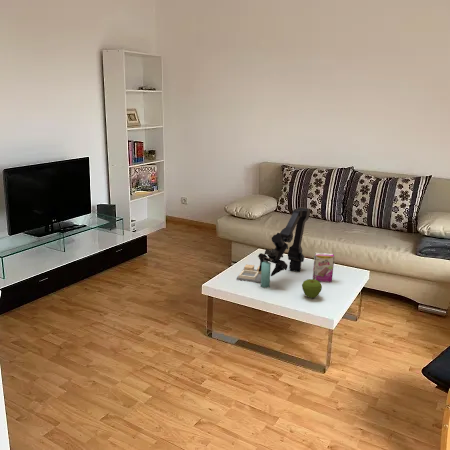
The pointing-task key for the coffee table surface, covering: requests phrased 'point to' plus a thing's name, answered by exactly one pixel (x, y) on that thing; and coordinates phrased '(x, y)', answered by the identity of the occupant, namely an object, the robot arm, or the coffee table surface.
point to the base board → (250, 274)
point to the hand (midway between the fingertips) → (265, 273)
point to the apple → (311, 288)
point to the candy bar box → (323, 267)
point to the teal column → (265, 274)
